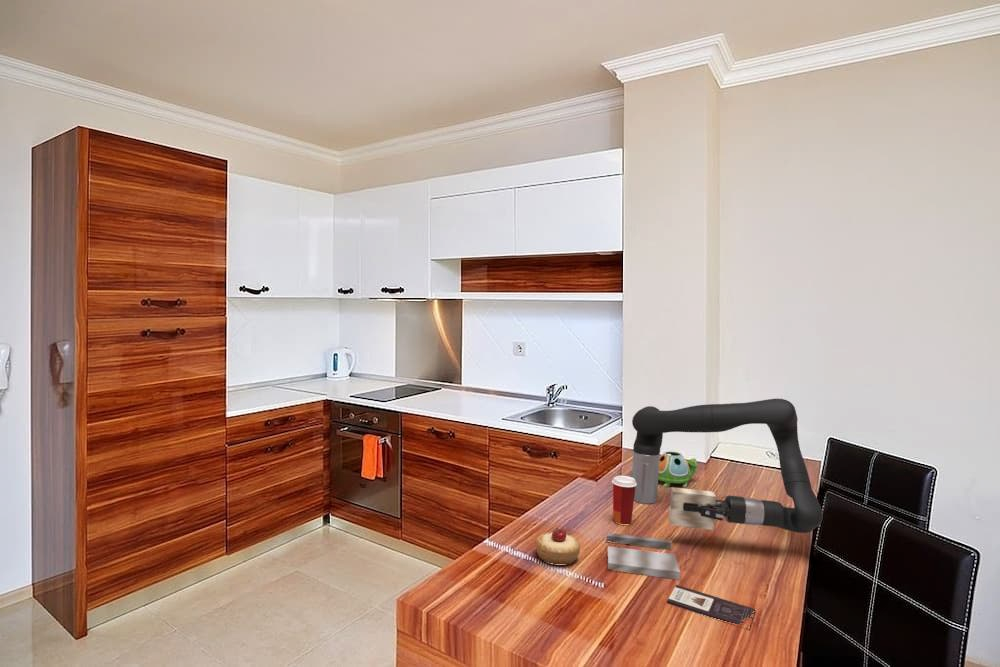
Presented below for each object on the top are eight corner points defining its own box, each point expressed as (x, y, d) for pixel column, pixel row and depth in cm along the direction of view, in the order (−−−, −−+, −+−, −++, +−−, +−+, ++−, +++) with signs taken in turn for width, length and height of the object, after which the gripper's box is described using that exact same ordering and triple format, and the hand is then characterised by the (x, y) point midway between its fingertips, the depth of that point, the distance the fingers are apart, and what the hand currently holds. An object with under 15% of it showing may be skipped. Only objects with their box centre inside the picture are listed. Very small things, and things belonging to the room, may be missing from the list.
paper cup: (636, 520, 177) (639, 477, 176) (631, 528, 170) (634, 484, 169) (612, 515, 181) (615, 473, 180) (606, 523, 174) (609, 480, 173)
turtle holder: (705, 487, 212) (707, 457, 211) (663, 489, 208) (665, 458, 207) (688, 477, 224) (689, 448, 224) (647, 478, 220) (649, 449, 219)
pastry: (587, 561, 149) (590, 529, 148) (559, 574, 141) (562, 540, 140) (553, 544, 158) (556, 514, 157) (525, 555, 149) (528, 523, 149)
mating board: (608, 570, 143) (608, 563, 143) (606, 539, 162) (607, 532, 162) (679, 579, 140) (680, 571, 140) (669, 546, 159) (670, 540, 159)
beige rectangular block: (670, 525, 160) (673, 491, 159) (668, 519, 164) (671, 487, 163) (713, 530, 158) (716, 496, 157) (710, 524, 162) (713, 491, 161)
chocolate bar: (750, 628, 119) (666, 601, 129) (749, 632, 119) (666, 604, 129) (755, 609, 127) (676, 584, 136) (755, 613, 127) (676, 588, 137)
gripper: (738, 489, 165) (679, 483, 168) (751, 507, 151) (687, 499, 154) (736, 513, 165) (677, 506, 168) (749, 533, 151) (685, 525, 154)
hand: (682, 503), depth 161 cm, fingers closed on beige rectangular block, 4 cm apart
